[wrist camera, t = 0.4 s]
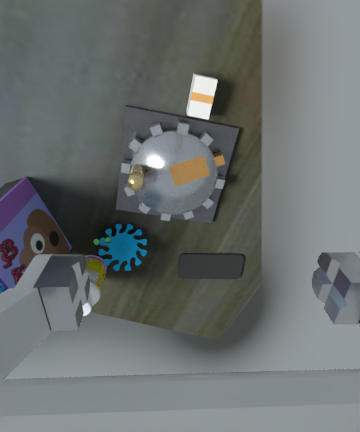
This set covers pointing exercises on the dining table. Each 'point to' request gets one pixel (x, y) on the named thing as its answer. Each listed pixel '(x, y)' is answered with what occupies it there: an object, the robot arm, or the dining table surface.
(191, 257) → the phone
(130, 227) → the blue splat toy
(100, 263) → the supplement bottle
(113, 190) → the dining table surface
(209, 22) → the dining table surface
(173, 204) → the sprocket
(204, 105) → the link block
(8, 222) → the cereal box
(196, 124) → the base plate
